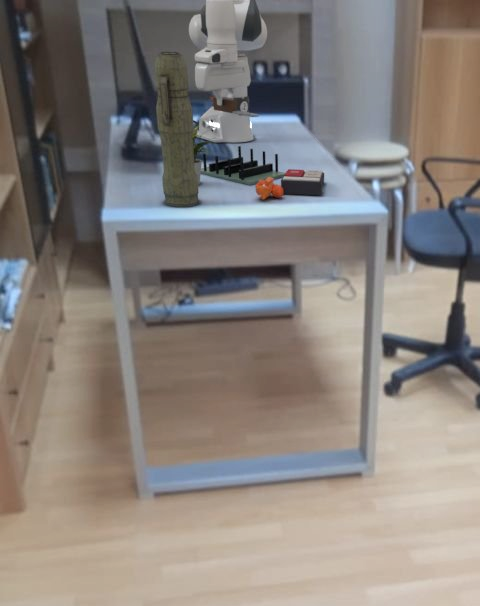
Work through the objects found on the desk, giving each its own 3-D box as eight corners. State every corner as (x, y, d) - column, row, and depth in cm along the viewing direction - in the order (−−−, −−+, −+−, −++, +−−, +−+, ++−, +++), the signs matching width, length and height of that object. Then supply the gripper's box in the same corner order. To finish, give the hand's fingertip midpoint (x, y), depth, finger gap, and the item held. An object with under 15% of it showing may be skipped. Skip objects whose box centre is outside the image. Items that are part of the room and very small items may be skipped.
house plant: (171, 192, 211) (165, 128, 203) (154, 181, 221) (147, 119, 212) (220, 187, 218) (216, 125, 209) (201, 176, 228) (197, 116, 219)
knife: (213, 109, 243) (213, 97, 241) (219, 109, 244) (218, 96, 242) (253, 117, 234) (253, 104, 232) (259, 116, 236) (258, 103, 234)
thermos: (204, 197, 208) (194, 51, 190) (192, 209, 198) (181, 56, 180) (171, 195, 209) (158, 49, 190) (158, 207, 199) (143, 54, 180)
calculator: (324, 169, 225) (320, 179, 212) (324, 185, 228) (320, 195, 214) (286, 167, 225) (280, 177, 212) (286, 183, 228) (280, 193, 214)
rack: (195, 172, 232) (194, 151, 229) (233, 163, 243) (232, 144, 240) (250, 185, 222) (249, 164, 219) (286, 175, 233) (286, 155, 230)
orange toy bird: (264, 169, 213) (255, 180, 203) (289, 180, 214) (282, 191, 204) (258, 187, 216) (249, 198, 206) (284, 197, 217) (276, 209, 207)
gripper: (239, 51, 242) (241, 99, 249) (190, 55, 228) (193, 106, 235) (254, 53, 239) (255, 102, 246) (205, 57, 224) (208, 109, 232)
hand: (225, 104), depth 240 cm, fingers closed on knife, 2 cm apart
